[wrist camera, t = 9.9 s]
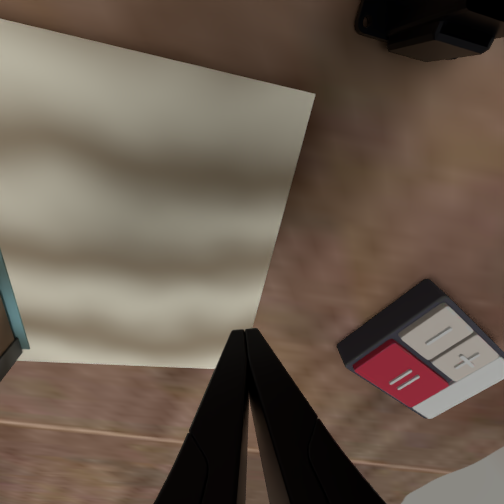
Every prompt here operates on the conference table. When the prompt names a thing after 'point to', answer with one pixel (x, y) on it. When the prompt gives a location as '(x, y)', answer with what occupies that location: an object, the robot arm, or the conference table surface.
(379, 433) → the conference table surface
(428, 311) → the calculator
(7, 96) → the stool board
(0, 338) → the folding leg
